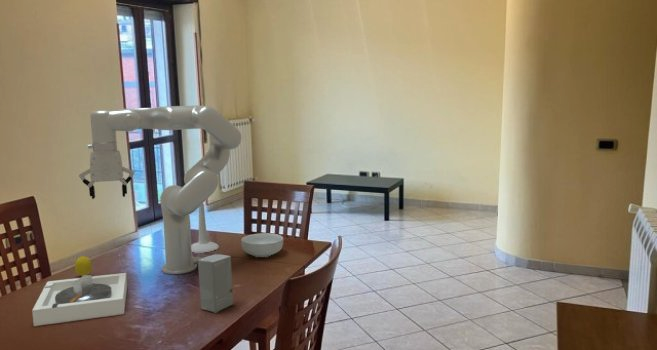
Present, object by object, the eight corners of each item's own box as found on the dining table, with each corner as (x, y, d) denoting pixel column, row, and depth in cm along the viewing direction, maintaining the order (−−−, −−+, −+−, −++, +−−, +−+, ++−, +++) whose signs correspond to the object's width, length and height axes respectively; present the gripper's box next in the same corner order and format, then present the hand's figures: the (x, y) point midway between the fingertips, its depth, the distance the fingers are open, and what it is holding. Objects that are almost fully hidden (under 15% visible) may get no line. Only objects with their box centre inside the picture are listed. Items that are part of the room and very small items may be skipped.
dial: (71, 287, 171) (70, 270, 170) (120, 287, 171) (118, 270, 170) (44, 307, 155) (42, 288, 154) (97, 307, 155) (96, 288, 154)
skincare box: (215, 314, 156) (213, 263, 153) (198, 309, 159) (195, 259, 157) (234, 304, 163) (232, 255, 160) (218, 299, 166) (215, 251, 164)
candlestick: (194, 243, 228) (191, 176, 223) (223, 244, 226) (220, 176, 221) (182, 252, 215) (178, 181, 210) (212, 253, 213) (209, 181, 209)
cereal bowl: (291, 252, 214) (291, 236, 213) (266, 264, 200) (265, 246, 199) (259, 246, 223) (259, 230, 222) (233, 257, 209) (232, 240, 208)
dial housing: (127, 286, 179) (125, 271, 178) (123, 314, 156) (122, 297, 155) (48, 295, 171) (47, 280, 170) (33, 326, 148) (31, 309, 148)
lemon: (86, 280, 185) (84, 258, 183) (72, 279, 186) (70, 257, 184) (95, 274, 190) (94, 253, 189) (82, 273, 191) (80, 252, 190)
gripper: (75, 149, 169) (79, 201, 172) (132, 147, 175) (135, 197, 177) (78, 147, 176) (82, 196, 179) (132, 145, 182) (136, 193, 184)
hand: (108, 197), depth 178 cm, fingers open, 9 cm apart
